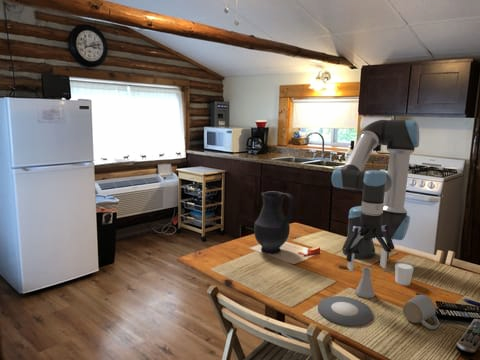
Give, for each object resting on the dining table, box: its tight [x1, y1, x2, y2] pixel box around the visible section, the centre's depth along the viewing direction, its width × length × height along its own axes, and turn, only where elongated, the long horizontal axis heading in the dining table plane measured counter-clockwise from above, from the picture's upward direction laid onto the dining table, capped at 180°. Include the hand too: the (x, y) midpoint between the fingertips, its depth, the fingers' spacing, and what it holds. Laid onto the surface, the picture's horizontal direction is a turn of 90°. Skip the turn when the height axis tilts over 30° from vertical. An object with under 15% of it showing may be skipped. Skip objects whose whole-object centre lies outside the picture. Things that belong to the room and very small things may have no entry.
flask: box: [354, 267, 375, 299], centre depth 141 cm, size 7×7×10 cm
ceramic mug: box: [402, 294, 440, 330], centre depth 123 cm, size 11×8×8 cm
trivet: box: [317, 295, 373, 327], centre depth 129 cm, size 18×18×1 cm
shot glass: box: [394, 262, 414, 286], centre depth 152 cm, size 7×7×7 cm
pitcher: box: [253, 190, 296, 255], centre depth 181 cm, size 17×21×30 cm
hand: (366, 268), depth 140 cm, fingers open, 13 cm apart
